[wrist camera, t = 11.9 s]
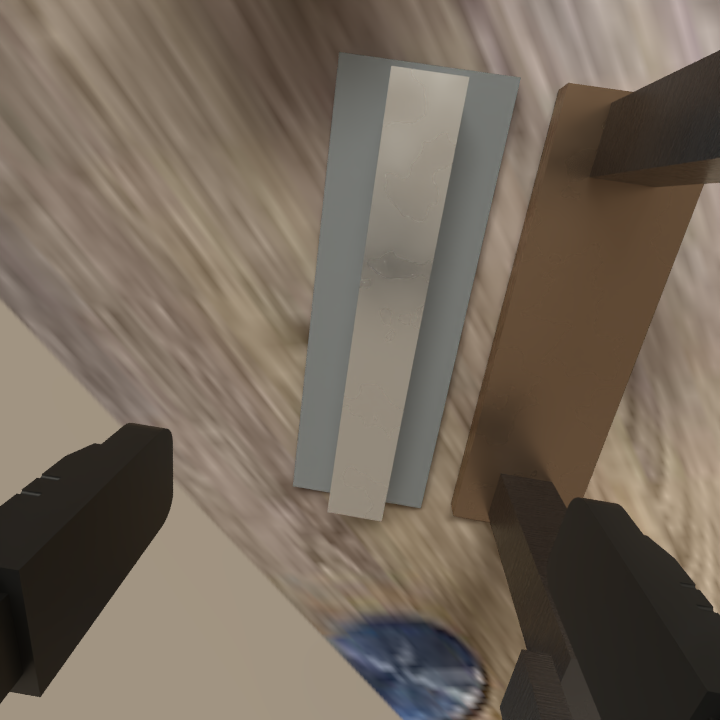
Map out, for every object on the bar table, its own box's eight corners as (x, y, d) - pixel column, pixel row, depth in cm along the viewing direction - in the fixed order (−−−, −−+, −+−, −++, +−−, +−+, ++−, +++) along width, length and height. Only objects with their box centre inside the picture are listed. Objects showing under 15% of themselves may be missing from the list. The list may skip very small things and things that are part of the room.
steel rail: (334, 479, 27) (327, 511, 24) (392, 86, 19) (391, 65, 17) (383, 487, 26) (381, 521, 24) (459, 95, 19) (469, 76, 16)
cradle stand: (451, 503, 28) (511, 843, 13) (558, 89, 20) (1029, -252, 5) (561, 522, 27) (751, 891, 13) (714, 112, 20) (1685, -177, 5)
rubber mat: (296, 476, 28) (292, 486, 27) (342, 59, 20) (339, 52, 19) (419, 497, 28) (420, 508, 27) (514, 83, 20) (520, 77, 19)
